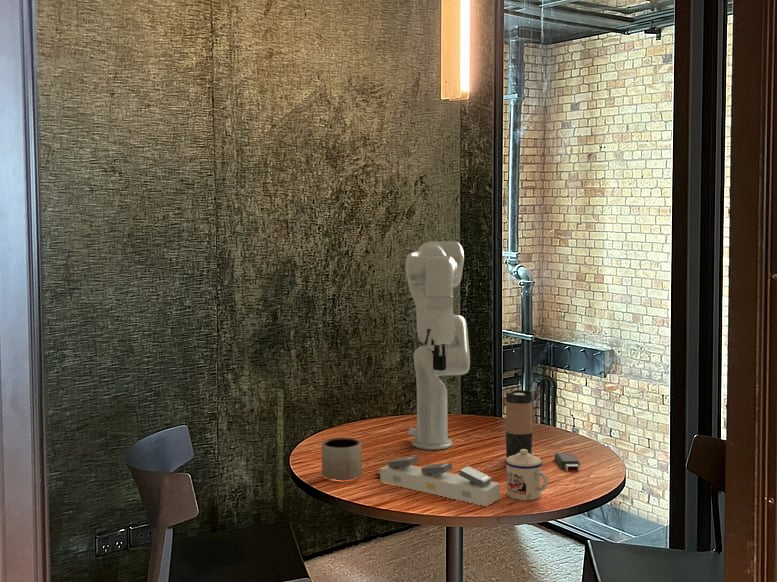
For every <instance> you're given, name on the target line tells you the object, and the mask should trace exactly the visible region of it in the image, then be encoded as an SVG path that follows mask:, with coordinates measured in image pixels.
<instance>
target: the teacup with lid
mask: <svg viewBox="0 0 777 582" xmlns="http://www.w3.org/2000/svg"><path fill="white" fill-rule="evenodd" d="M505 464H506V495H507V496H508V497H509V498H511V499H513V500H517V499H518V500H517V501H534V499H535V500H537V499H540V497H541V496H542V492H544V491H545V490H546V488H548V484H549V480H548V479H549V478H548V476H547V474H546V473H544V471H542V465H543V461H542V459H541V458H539V457H538V456H535V455H533V454H532V455H531V454H529V453H528V450H526V449H521V450H520V453H517V454H515V455H512V456H509V457H508V458H507V457H506V460H505ZM542 479H543V483H542ZM542 484H543V485H542Z"/></svg>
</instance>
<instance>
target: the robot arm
mask: <svg viewBox="0 0 777 582" xmlns="http://www.w3.org/2000/svg"><path fill="white" fill-rule="evenodd" d="M464 263H465V254H464V249H463V246H462V245H461V244H460V243H459V242H458V241H453V240H452V241H427V242H424V243H422V244H421V245H420V246H419V247H418V248H417V250H416V251H415V250H414V251H411V252H409V254H407V256H406V260H405V273H406V274H405V275H406V277H407V285H408V289H409V292H410V294H411V297H412V299H413V302H414V304H415V309H416V312H415V313H416V330H417V332H416V333H417V337H418V340H419V341H420V343H422V345H420V346H419V347H417V348H416V349H415V351H414V352H413V363H414V371H415V378H416V380H415V381H416V428H414V427H410V428H408V432H407V435H408V436H411V437H412V436H413V438H414V439H413V440H411V441H412V443H411V444H412V446H413V447H415V448H417V449H421V450H430V451H432V450H434V451H435V450H437V451H438V450H443V449H448V448H451V447H452V446H453V440H452V439H451V438H449V437H448V389H447V387H446V384H445V383H444V382H443V381H442V379H440V378H439V377H440V376H441V377H442V376H462V375H463V376H464V375H465V374H468V373H469V370H470V369H471V368H470V366H471V356H470V355H471V352H470V344H469V331H468V323H467V321H466V319H465V318H464V316H462V315H459V314H454V288H456V287H458V286H459V285H460V283H461V281H462V276H463V269H464Z"/></svg>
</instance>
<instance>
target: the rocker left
mask: <svg viewBox="0 0 777 582" xmlns="http://www.w3.org/2000/svg"><path fill="white" fill-rule="evenodd" d="M418 462H419V458H418V455H416V456H409V457H400V458H395V459H393V460H391V461H388V462H387V463H388V464H387V465H389V468H390V467H398V466H407V465H414V464H416V463H418Z"/></svg>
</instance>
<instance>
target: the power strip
mask: <svg viewBox="0 0 777 582" xmlns="http://www.w3.org/2000/svg"><path fill="white" fill-rule="evenodd" d="M423 467H424V466H423ZM423 467H421V466H416V465H414V464H411V465H407V466H398V467H390V468H389V465H388V464H387V465H386V466H383V467H380V470H379V471H380V472H375V474H374V477H375V476H378V477H380V478H379V479H380V481H382V482H386V483H390V484H394V485H397V486H401V487H405V488H409V489H413V490H418V491H422V492H426V493H431V494H435V495H439V496H438V497H440V496H443V497H442V498H444V497H447V498H446V499H449V498H451V500H453V499H456V500H455V501H458V500H460V501H459V502H462V501H465V502H464V503H466V502H469V503H468V504H471V503H473V504H472V505H475V504H477V505H476V506H480V505H482V506H481V507H484V506H486V508H487V507H488V505H489V506H490V504H491V505H492V504H494V503H495V501H496V502H497V501H499V500H501V483H500V482H496V481H492V480H491V483H489V484H487V485H486V486H484V487H482V486H480V485H478V484H476V483H474V482H472V481H470V480H468V479H466V478H464V477H462V476H460V475H459V474H458V473H451V472H448V471H447V472H445V473H427V474H422V471H421V468H423ZM380 481H379V482H380ZM409 489H408V490H409ZM413 490H412V491H413ZM418 491H417V492H418ZM422 492H421V493H422ZM426 493H425V494H426ZM431 494H430V495H431ZM435 495H434V496H435ZM498 499H499V500H498ZM493 502H494V503H493Z"/></svg>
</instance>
